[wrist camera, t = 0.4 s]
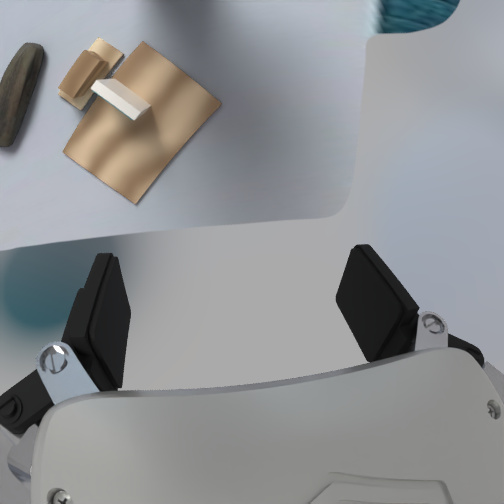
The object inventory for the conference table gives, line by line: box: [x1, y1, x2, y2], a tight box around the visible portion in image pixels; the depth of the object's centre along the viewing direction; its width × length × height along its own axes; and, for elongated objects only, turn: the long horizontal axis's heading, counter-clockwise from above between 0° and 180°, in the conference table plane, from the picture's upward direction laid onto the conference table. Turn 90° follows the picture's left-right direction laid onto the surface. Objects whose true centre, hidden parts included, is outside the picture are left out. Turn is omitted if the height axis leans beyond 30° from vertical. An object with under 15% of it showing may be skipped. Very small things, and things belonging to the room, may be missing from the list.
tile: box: [91, 79, 151, 120], centre depth 29 cm, size 7×1×8 cm, turn 45°
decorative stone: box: [0, 43, 43, 147], centre depth 26 cm, size 17×6×4 cm, turn 144°
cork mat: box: [63, 41, 221, 204], centre depth 35 cm, size 15×20×1 cm
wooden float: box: [58, 37, 124, 110], centre depth 28 cm, size 5×10×5 cm, turn 135°
